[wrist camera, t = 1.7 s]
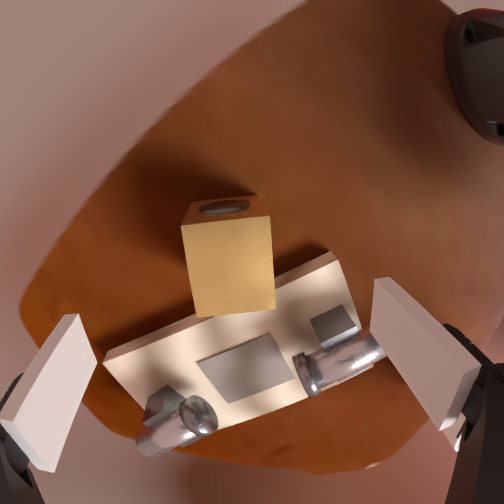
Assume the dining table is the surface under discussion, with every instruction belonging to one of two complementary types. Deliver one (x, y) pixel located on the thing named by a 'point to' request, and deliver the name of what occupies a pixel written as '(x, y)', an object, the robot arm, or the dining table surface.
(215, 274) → the wooden block with hole
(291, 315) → the bench
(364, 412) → the dining table surface
